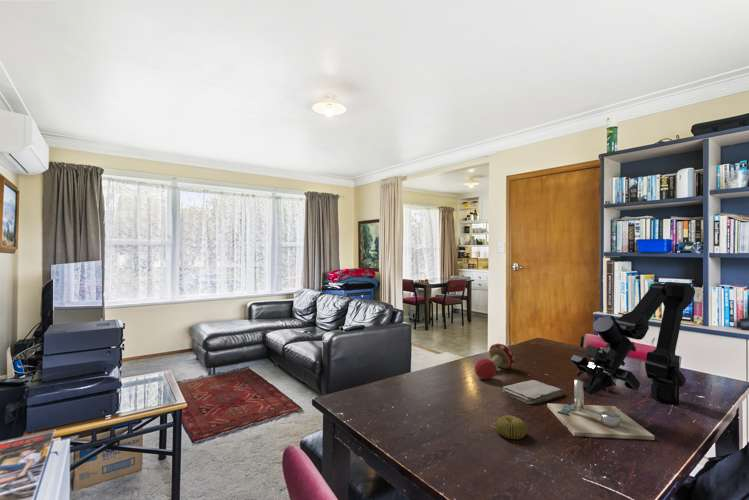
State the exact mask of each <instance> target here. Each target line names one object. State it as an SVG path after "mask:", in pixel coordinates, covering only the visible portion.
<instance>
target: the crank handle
mask: <svg viewBox="0 0 749 500" xmlns="http://www.w3.org/2000/svg"><path fill="white" fill-rule="evenodd" d="M573 383H574V384H573V385H574V386H573V403H572V402H570V401H566V402H565V404H566V408H569V409H572V410H575V411H579V412H582V413H585V414H588V415H591V416H594V417H597V418H601V423H602V424H604V425H606V426H609V427H614V428H617V427H620V416H619V415H617V414H615V413H612V412H607V411H603V412H601V413H600V412H597V411H594V410H590V409H587V408H584V405H585V404H584V399H585V397H584V395H585V394H584V393H585V392H584V390H585V387H584V386H585V385H584V381H583V380H580V379H576V378H574V380H573Z"/></svg>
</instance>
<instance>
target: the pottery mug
mask: <svg viewBox="0 0 749 500" xmlns="http://www.w3.org/2000/svg"><path fill="white" fill-rule="evenodd" d="M583 374H586V375H587V376H586V377H580V376H581V375H583ZM575 379H580V380H583V381H584V386H587V385H588V374H587V373H584V372H581V371H580V370H577V372H576V373H575ZM605 389H606V393H609V392H610V389H609V387H607V388H605Z"/></svg>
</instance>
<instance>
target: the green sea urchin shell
mask: <svg viewBox="0 0 749 500" xmlns="http://www.w3.org/2000/svg"><path fill="white" fill-rule="evenodd" d="M494 426H495V429H496V431H497V432H498V434H499V435H501V436H502V437H504V438H506V439H510V440H521V439H523V438H525V437H526V435H527V434H528V425H526V423H525V421H524V420H523V419H521V418H519V417H518V416H515V415H507V414H505V415H501V416H499V417H498V418H497V419H496V420H495V423H494Z"/></svg>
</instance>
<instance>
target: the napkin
mask: <svg viewBox="0 0 749 500" xmlns="http://www.w3.org/2000/svg"><path fill="white" fill-rule="evenodd" d="M546 405H547V406H546V407H547V408H548V409H549V411H551V412H552V414H554V415H555V417H556V418H557V419H558V420H559V421H560V423H562V425H563V426H564V427H565V426H566V427H567V428H568V429H567V428H566V427H565V428H566V429H567V430H568V431H569V432H570V433H571V434H572V436H574V437H584V436H585V437H587V438H588V437H589V438H604V439H605V438H607V439H627V440H647V441H655V436H656V435H654V434H652V433H651V432H650V431H648V430H647V429H646V428H644V427H643V426H642V425H640V424H639V423H638V422H636V421H635V420H634V419H632V418H631V417H630V416H628V415H627V414H626V413H624V412H623V411H621V410H620V409H619V408H617V407H616V406H614V405H593V404H584V408H587V409H590V410H594V411H597V412H600V413H601V412H603V411H607V412H612V413H615V414H617V415H619V416H620V427H617V428H614V427H609V426H606V425H604V424H602V423H601V418H597V417H594V416H591V415H588V414H585V413H582V412H579V411H575V410H572V409H569V408H566V403H546Z"/></svg>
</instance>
